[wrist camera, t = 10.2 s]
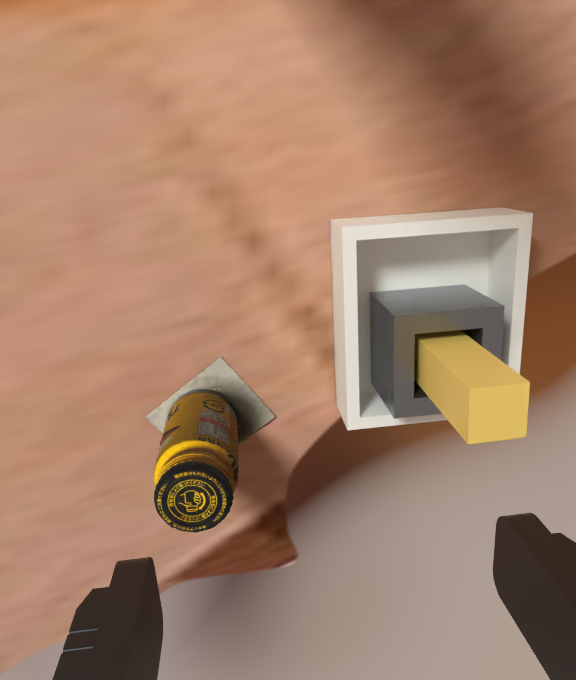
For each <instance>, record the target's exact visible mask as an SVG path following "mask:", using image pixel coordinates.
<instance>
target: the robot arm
mask: <svg viewBox="0 0 576 680" xmlns="http://www.w3.org/2000/svg"><path fill="white" fill-rule="evenodd" d="M493 576H494V581H495V586H496V589H497V591H498V594H499V596H500V598H501V600H502V601H503V603H504V605H505V606H506V608H507V609H508V611H509V613H510V614H511V616H512V618H513V619H514V621H515V622H516V624H517V626H518V627H519V629H520V631H521V632H522V634H523V636H524V637H525V639H526V641H527V642H528V644H529V645H530V647H531V649H532V650H533V652H534V654H535V655H536V657H537V658H538V660H539V662H540V663H541V665H542V667H543V668H544V670H545V671H546V673H547V674H548V676H549V678H550V680H576V543H575V542H574V541H572V540H570V539H569V538H567V537H566V536H564V535H563V534H561V533H554V534H551V533H550V531H549V530H548V529H547V528H546V527H545V526H544V524H543V523H542V522H541V521H540V520H539V519H538V517H537V516H536V515H534V514H532V513H526V514H517V515H509V516H501V517H499V518H498V520H497V524H496V534H495V549H494V561H493ZM162 639H163V615H162V607H161V601H160V595H159V590H158V584H157V578H156V573H155V567H154V562H153V559H152V558H151V557H148V558H140V559H131V560H123V561H118V562H117V563H116V565H115V569H114V572H113V576H112V579H111V583H110V586H109V587H105V588H97V589H92V591H91V592H90V593H89V594H88V596H87V597H86V598H85V599H84V600H83V602H82V603H81V604H80V605H79V607H78V608H77V609H76V612H75V615H74V618H73V621H72V624H71V627H70V630H69V635H68V636H67V639H66V642H65V645H64V648H63V653H62V654H61V656H60V659H59V662H58V665H57V668H56V671H55V674H54V677H53V680H157V676H158V669H159V662H160V655H161V646H162Z"/></svg>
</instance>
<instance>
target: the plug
mask: <svg viewBox="0 0 576 680" xmlns="http://www.w3.org/2000/svg"><path fill="white" fill-rule="evenodd" d="M414 380H415V381H416V382H417V384H418V385H419V386H420V387H421V388H422V390H423V391H424V392H425V393H426V395H427V396H428V397H429V398H430V399H431V401H432V402H433V403H434V404H435V405H436V407H437V408H438V409H439V410H440V411H441V413H442V414H443V415H444V416H445V417H446V419H447V420H448V421H449V422H450V423H451V425H452V426H453V427H454V428H455V429H456V431H457V432H458V433H459V434H460V435H461V437H462V438H463V439H464V440H465V441H466V443H467V444H475V443H483V442H492V441H500V440H507V439H516V438H524V437H526V431H527V417H528V404H529V390H530V382H529V381H528V380H526V379H525V378H524V377H522V376H521V375H520V374H518V373H517V372H516V371H514V370H513V369H512V368H510V367H509V366H508V365H506V364H505V363H504V362H502V361H501V360H500V359H498V358H497V357H496V356H494V355H493V354H491V353H490V352H489V351H487V350H486V349H485V348H483V347H482V346H481V345H479V344H478V343H477V342H475V341H474V340H473V339H471V338H470V337H469V336H467V335H466V334H465V333H463V332H462V331H461V330H455V331H444V332H433V333H422V334H415V351H414Z"/></svg>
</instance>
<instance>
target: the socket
mask: <svg viewBox="0 0 576 680" xmlns="http://www.w3.org/2000/svg"><path fill="white" fill-rule="evenodd" d="M504 308H505V306H504V305H502V304H500V303H498V302H496V301H494V300H493V299H491V298H489V297H487V296H485V295H483V294H481V293H480V292H478V291H476V290H474V289H472V288H470V287H468V286H467V285H465V284H463V285H451V286H439V287H427V288H415V289H403V290H391V291H379V292H370V354H371V383H372V385H373V386H374V388H375V390H376V391H377V393H378V394H379V396H380V398H381V399H382V401H383V402H384V404H385V406H386V407H387V409H388V410H389V412H390V413H391V415H392V417H393V418H394V419H396V418H406V417H416V416H425V415H435V414H442V413H441V411H440V410H439V409H438V408H437V407H436V405H435V404H434V403H433V402H432V401H431V399H430V398H429V397H428V396H427V395H426V393H425V392H424V391H423V390H422V388H421V387H420V386H419V385H418V384H417V382H416V381H415V380H414V351H415V334H422V333H433V332H444V331H455V330H461V331H462V332H463V333H465V334H466V335H467V336H469V337H470V338H471V339H473V340H474V341H475V342H477V343H478V344H479V345H481V346H482V347H483V348H485V349H486V350H487V351H489V352H490V353H491V354H493V355H494V356H496V357H497V358H498V359H500V360H501V350H502V336H503V322H504Z"/></svg>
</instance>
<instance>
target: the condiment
mask: <svg viewBox="0 0 576 680" xmlns="http://www.w3.org/2000/svg"><path fill="white" fill-rule="evenodd" d="M213 388H216V390H214V389H213ZM218 388H222V389H218ZM274 417H275V415H274V414H273V413H272V412H271V411H270V410H269V408H268V407H267V406H266V405H265V404H264V403H263V402H262V401H261V400H260V399H259V398H258V396H257V395H256V394H255V393H254V392H253V391H252V390H251V389H250V388H249V387H248V385H247V384H246V383H245V382H244V381H243V380H242V379H241V378H240V377H239V376H238V375H237V374H236V373H235V371H234V370H233V369H232V368H231V367H230V366H229V365H228V364H227V363H226V362H225V361H224V360H223V359H222V358H221V357H220V358H218V359H217V360H216V361H215V362H214V363H212V364H211V365H210V366H208V367H207V368H206V369H205V370H204V371H202V372H201V373H200V374H199V375H197V376H196V377H195V378H194V379H192V380H191V381H190V382H189V383H187V384H186V385H185V386H183V387H182V388H181V389H179V390H178V391H177V392H176V393H174V394H173V395H172V396H171V397H170V398H168V399H167V400H166V401H165V402H163V403H162V404H161V405H160V406H158V407H157V408H156V409H155V410H153V411H152V412H151V413H150V414H149V415H147V416H146V417H145V418H146V419H148V420H149V421H150V422H151V423H152V424H153V425H154V426H155V427H156V428H157V429H158V430H159V431H160V432H162V433H163V435H162V440H161V443H160V448H159V453H158V457H157V460H156V464H155V470H154V484H155V487H156V490H155V491H154V492H155V493H154V502H155V507H156V510H157V512H158V514H159V515H160V517H161V518H162V519H163V520H164V521H165V522H166V523H167V524H168V525H170V526H171V527H172V528H176V529H178V530H181V531H187V532H199V531H204V530H207V529H211V528H213V527H215V526H216V525H217V524H219V523H220V522H221V521H222V520H223V519H224V518H225V517H226V515H227V514H228V513H229V512H230V507H231V506H232V501H233V492H234V490H235V488H236V485H237V482H238V472H239V471H238V445H239V444H240V443H241V442H243V441H244V440H246V439H247V438H248V437H249V436H250V435H252V434H253V433H254V432H255V431H257V430H258V429H259V428H261V427H262V426H264V425H265V424H267V423H268V422H269V421H270V420H272V419H273V418H274ZM238 425H240V427H238Z"/></svg>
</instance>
